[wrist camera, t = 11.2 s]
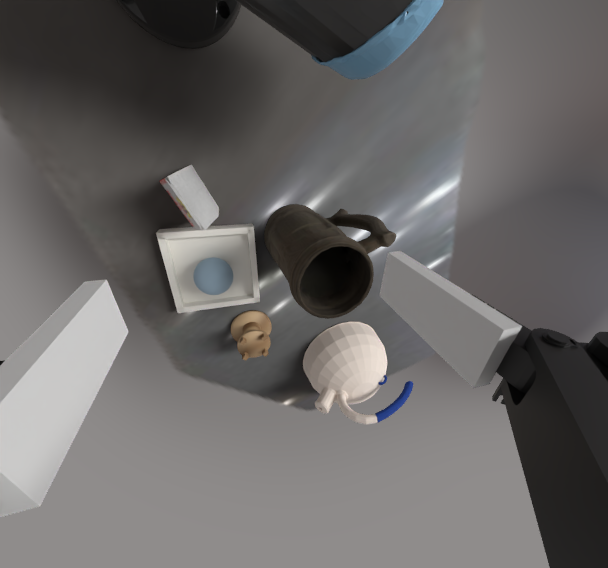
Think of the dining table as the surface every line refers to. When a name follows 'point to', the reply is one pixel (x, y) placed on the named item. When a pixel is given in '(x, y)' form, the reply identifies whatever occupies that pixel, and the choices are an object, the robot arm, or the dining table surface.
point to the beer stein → (324, 257)
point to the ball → (213, 276)
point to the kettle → (349, 370)
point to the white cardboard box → (191, 197)
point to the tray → (205, 244)
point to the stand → (252, 333)
